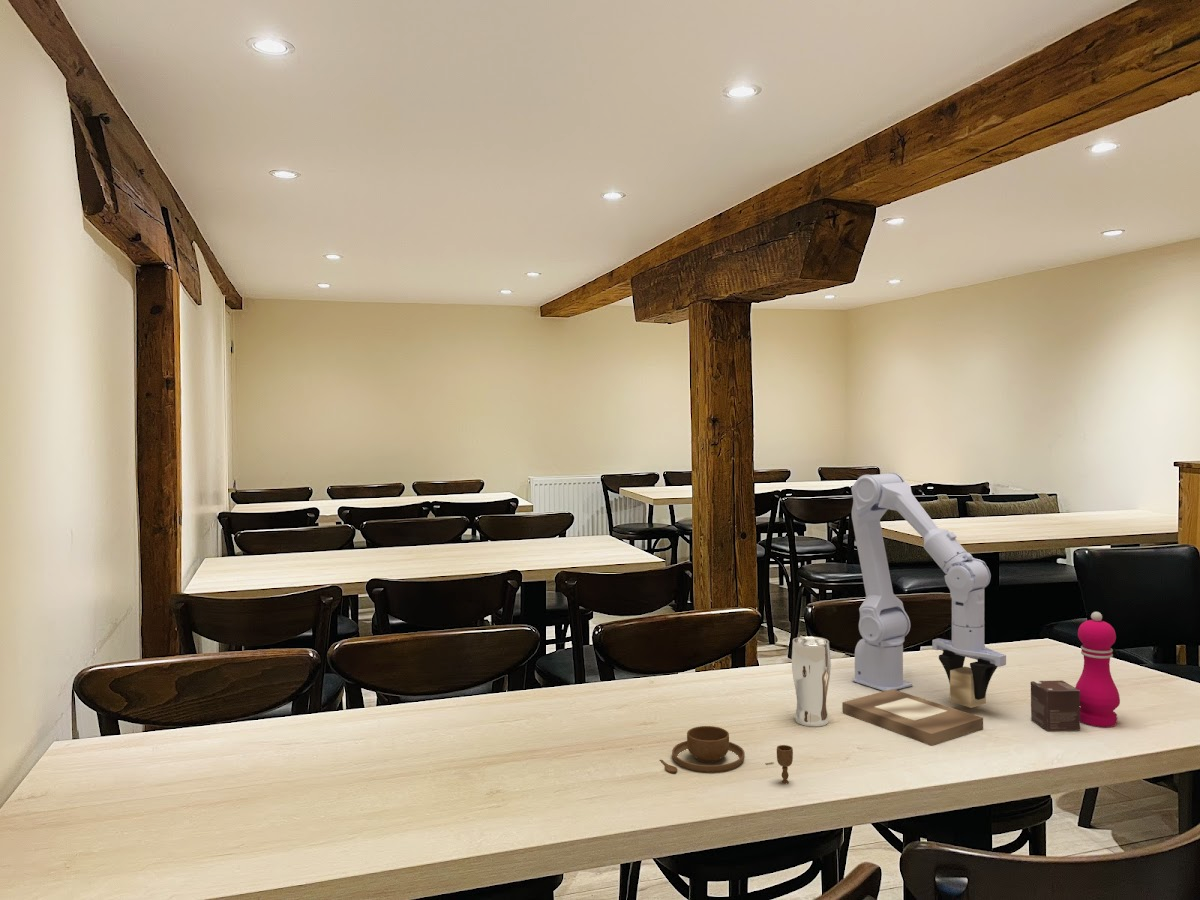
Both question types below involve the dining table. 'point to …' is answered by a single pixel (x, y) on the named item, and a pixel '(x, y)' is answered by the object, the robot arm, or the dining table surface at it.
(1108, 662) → the pepper mill
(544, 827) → the dining table surface
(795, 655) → the beer glass
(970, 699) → the maple block
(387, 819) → the dining table surface
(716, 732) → the place setting
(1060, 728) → the box
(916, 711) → the walnut board
